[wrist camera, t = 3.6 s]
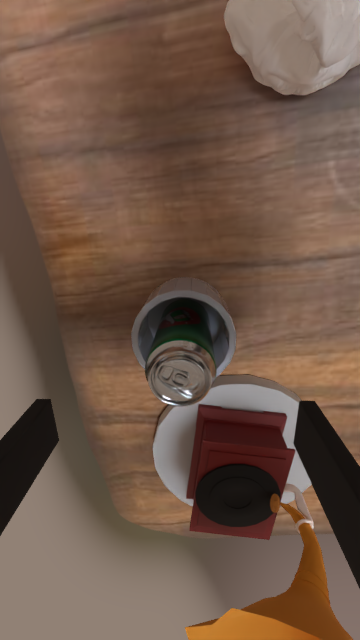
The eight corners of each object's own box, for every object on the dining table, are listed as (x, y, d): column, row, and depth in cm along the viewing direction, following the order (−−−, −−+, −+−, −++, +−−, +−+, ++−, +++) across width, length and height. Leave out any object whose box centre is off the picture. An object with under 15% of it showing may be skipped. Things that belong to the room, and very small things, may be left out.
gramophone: (337, 384, 32) (750, 849, 8) (295, 510, 39) (455, 960, 15) (160, 365, 32) (66, 761, 8) (150, 493, 39) (82, 910, 15)
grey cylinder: (140, 277, 29) (127, 291, 23) (229, 276, 28) (238, 289, 23) (146, 357, 32) (135, 386, 26) (226, 357, 31) (233, 387, 26)
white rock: (216, 73, 25) (218, 134, 18) (228, -76, 18) (237, -59, 12) (354, 76, 24) (402, 138, 18) (416, -76, 18) (525, -59, 12)
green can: (195, 348, 31) (196, 422, 19) (154, 329, 30) (130, 393, 19) (217, 310, 29) (231, 365, 18) (174, 289, 29) (161, 332, 17)
